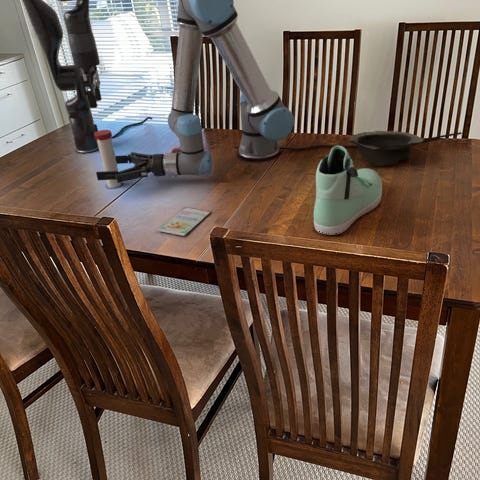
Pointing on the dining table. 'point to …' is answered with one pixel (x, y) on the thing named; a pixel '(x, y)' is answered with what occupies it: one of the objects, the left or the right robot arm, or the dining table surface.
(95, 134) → the lid
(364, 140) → the stone bowl
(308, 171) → the dining table surface
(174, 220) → the baking ingredient package
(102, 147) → the jar
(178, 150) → the candy cane
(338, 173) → the sneaker
